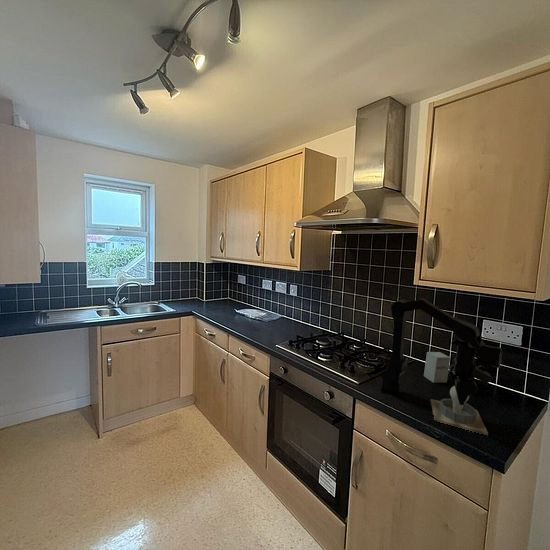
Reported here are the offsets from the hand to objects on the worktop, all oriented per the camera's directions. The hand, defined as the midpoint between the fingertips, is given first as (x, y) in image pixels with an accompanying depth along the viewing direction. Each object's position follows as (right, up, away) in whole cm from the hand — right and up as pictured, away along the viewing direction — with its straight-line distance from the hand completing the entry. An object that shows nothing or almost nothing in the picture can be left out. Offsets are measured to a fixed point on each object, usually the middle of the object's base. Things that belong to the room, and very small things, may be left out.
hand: (459, 399), depth 111 cm
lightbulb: (0, -6, +1) cm, 6 cm away
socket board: (-1, -7, +1) cm, 7 cm away
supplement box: (+9, -5, +33) cm, 35 cm away
